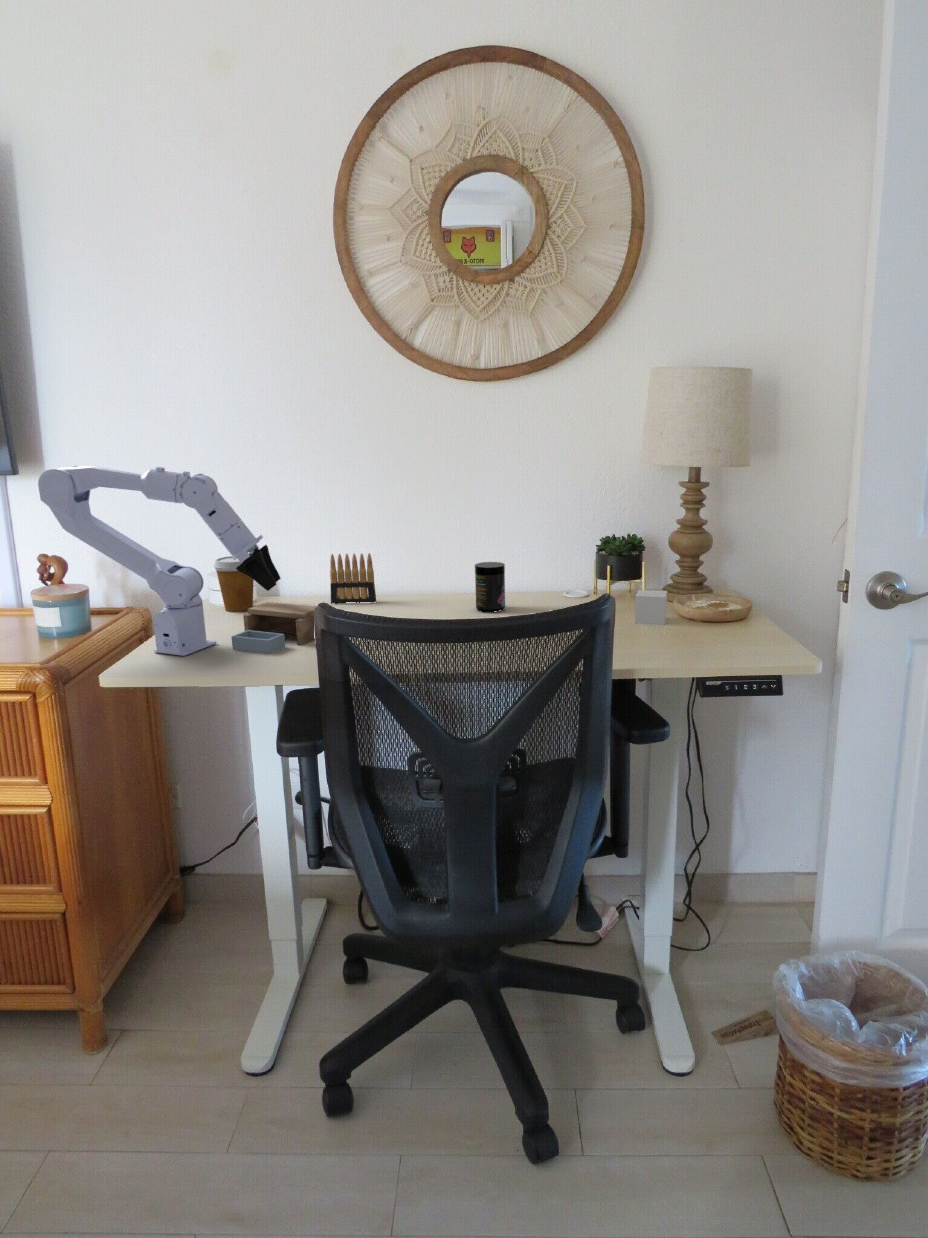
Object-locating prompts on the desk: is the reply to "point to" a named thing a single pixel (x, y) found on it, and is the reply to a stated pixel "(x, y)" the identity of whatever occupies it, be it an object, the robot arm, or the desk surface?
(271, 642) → the grey tray
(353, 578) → the ammunition clip
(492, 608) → the supplement container
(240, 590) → the disposable coffee cup
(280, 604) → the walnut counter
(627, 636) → the desk surface
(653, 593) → the grey cube
